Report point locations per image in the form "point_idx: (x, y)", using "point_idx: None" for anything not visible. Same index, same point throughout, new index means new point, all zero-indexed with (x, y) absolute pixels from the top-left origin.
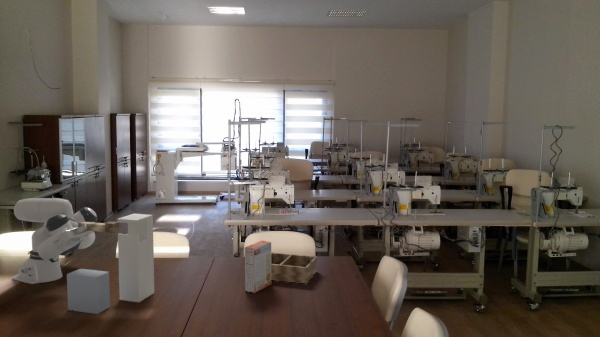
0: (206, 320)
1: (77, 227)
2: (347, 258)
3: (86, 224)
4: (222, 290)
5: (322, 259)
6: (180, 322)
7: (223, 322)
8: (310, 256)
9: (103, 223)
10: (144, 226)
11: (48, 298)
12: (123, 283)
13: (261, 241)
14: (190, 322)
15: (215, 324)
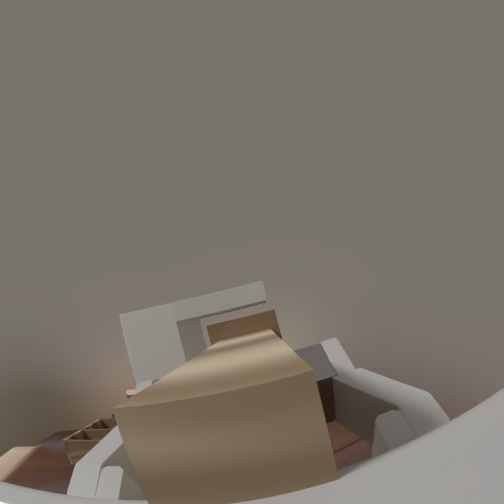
0: (335, 435)
1: (371, 459)
2: (62, 431)
3: (298, 349)
4: None
5: (56, 440)
6: (365, 442)
7: (328, 426)
8: (96, 421)
9: (219, 343)
10: (203, 345)
11: None
12: None
13: (133, 388)
14: (356, 438)
15: (340, 425)
